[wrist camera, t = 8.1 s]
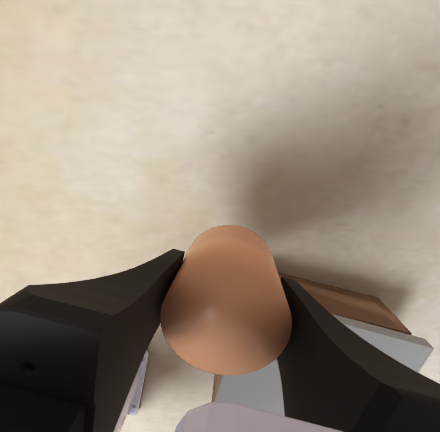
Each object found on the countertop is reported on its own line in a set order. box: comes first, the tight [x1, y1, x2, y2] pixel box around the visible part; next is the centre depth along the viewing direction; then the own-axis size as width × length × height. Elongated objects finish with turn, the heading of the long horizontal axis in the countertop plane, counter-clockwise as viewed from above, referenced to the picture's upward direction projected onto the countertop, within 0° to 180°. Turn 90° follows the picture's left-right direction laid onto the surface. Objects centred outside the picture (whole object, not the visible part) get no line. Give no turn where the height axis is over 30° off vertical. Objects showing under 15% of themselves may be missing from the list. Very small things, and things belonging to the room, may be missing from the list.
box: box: [212, 273, 412, 402], centre depth 20 cm, size 12×12×4 cm
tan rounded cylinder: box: [160, 225, 292, 375], centre depth 11 cm, size 5×5×4 cm
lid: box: [214, 314, 434, 416], centre depth 17 cm, size 12×12×1 cm
